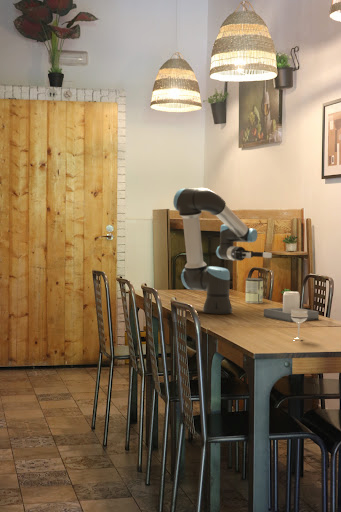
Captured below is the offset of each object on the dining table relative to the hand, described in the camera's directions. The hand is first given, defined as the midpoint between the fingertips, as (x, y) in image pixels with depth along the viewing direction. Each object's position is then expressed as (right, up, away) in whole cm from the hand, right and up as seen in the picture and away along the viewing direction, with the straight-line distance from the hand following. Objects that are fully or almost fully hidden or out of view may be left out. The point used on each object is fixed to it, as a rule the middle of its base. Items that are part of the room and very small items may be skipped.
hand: (260, 255), depth 371 cm
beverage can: (+13, -30, -17) cm, 37 cm away
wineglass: (+5, -34, -83) cm, 90 cm away
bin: (+13, -31, -17) cm, 38 cm away
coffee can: (+2, -28, +51) cm, 58 cm away
